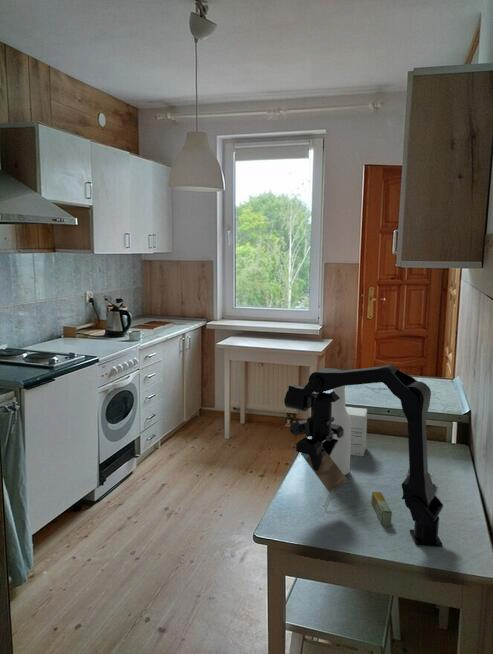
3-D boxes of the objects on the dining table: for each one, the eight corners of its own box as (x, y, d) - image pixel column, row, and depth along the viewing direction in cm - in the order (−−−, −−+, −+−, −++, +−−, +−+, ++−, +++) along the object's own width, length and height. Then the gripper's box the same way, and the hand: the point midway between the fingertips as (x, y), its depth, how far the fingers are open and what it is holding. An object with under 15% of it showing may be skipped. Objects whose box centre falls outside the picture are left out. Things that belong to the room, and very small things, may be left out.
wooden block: (347, 479, 141) (318, 440, 145) (340, 485, 138) (311, 445, 141) (336, 486, 143) (308, 448, 147) (329, 493, 140) (300, 453, 143)
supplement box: (341, 444, 190) (342, 405, 188) (366, 447, 187) (367, 408, 185) (338, 453, 181) (339, 413, 179) (363, 457, 179) (365, 416, 176)
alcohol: (334, 463, 173) (336, 377, 168) (355, 472, 167) (358, 383, 162) (316, 470, 167) (319, 382, 163) (338, 480, 161) (341, 388, 156)
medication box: (391, 526, 135) (392, 512, 134) (381, 526, 135) (382, 512, 134) (379, 503, 147) (380, 490, 146) (370, 503, 147) (371, 490, 146)
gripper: (310, 400, 153) (309, 450, 155) (278, 417, 137) (278, 472, 140) (345, 407, 147) (343, 458, 149) (316, 426, 131) (314, 482, 134)
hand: (319, 467), depth 143 cm, fingers closed on wooden block, 4 cm apart
